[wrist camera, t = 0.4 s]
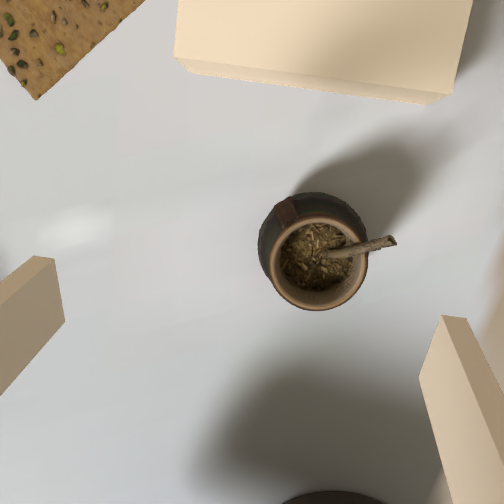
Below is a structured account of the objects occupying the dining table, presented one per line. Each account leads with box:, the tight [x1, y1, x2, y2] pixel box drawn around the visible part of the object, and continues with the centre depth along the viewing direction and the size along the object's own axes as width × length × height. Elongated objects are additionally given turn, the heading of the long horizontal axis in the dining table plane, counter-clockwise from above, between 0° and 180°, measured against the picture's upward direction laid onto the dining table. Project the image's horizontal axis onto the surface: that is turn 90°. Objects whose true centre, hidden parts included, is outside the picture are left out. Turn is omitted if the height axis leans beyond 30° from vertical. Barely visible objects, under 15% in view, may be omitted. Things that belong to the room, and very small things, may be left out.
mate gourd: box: [258, 192, 397, 311], centre depth 26 cm, size 7×8×10 cm
